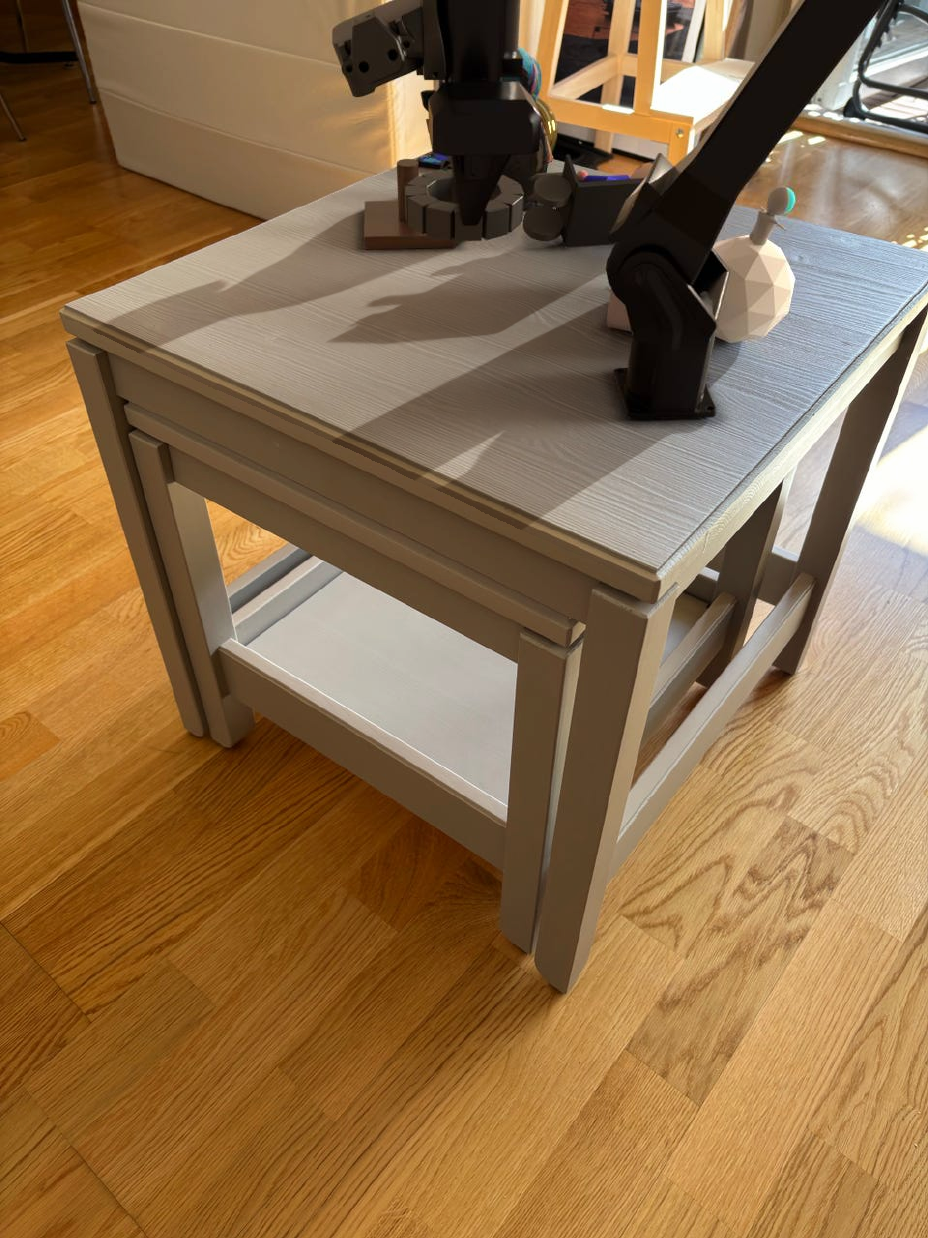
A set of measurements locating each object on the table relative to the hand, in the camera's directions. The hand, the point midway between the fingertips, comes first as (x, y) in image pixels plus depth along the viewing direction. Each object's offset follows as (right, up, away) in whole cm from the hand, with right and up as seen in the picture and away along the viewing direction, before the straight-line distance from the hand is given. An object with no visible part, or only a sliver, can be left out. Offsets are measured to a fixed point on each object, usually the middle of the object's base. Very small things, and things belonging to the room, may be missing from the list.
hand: (468, 218), depth 67 cm
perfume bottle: (+20, -5, +11) cm, 23 cm away
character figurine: (+13, +8, +25) cm, 29 cm away
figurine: (+4, +15, +32) cm, 35 cm away
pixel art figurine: (-3, +21, +37) cm, 43 cm away
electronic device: (+15, -2, +14) cm, 21 cm away
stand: (-6, +10, +26) cm, 28 cm away
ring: (0, +1, +3) cm, 4 cm away
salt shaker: (+5, +22, +32) cm, 39 cm away
